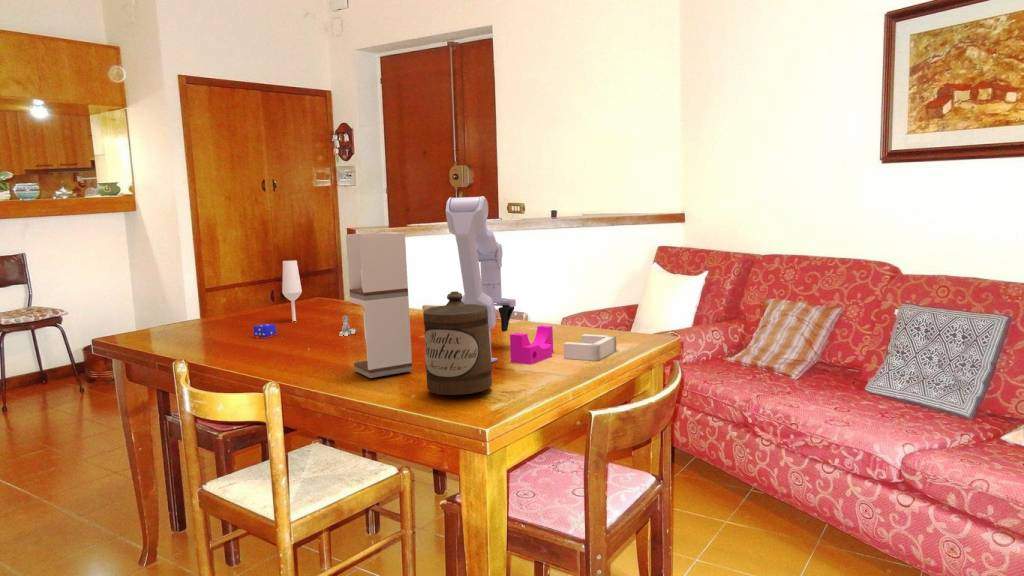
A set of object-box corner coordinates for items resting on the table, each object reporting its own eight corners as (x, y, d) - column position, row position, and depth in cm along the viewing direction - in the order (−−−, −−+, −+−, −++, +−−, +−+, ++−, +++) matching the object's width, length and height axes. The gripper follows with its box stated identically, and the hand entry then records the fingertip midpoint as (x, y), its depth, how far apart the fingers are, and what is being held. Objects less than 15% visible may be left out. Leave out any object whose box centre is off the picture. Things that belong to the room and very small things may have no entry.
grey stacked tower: (395, 363, 188) (388, 232, 183) (412, 370, 179) (404, 232, 174) (354, 370, 181) (345, 234, 177) (369, 378, 173) (360, 235, 168)
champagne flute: (281, 329, 250) (276, 262, 247) (290, 326, 257) (285, 260, 254) (299, 329, 249) (294, 261, 246) (307, 325, 255) (302, 260, 253)
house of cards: (363, 341, 223) (361, 317, 222) (335, 342, 223) (334, 318, 222) (369, 336, 232) (367, 313, 231) (343, 337, 232) (341, 314, 231)
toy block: (530, 365, 181) (529, 336, 180) (510, 362, 185) (509, 334, 184) (561, 353, 193) (560, 326, 192) (542, 351, 197) (541, 325, 196)
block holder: (597, 361, 182) (597, 345, 181) (563, 358, 186) (563, 343, 186) (616, 350, 194) (616, 336, 193) (584, 348, 198) (584, 334, 198)
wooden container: (415, 393, 157) (410, 295, 154) (444, 377, 170) (440, 287, 168) (476, 397, 151) (471, 296, 149) (501, 380, 165) (498, 287, 163)
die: (267, 342, 227) (265, 326, 226) (254, 341, 228) (252, 326, 228) (276, 339, 231) (275, 324, 231) (264, 338, 233) (263, 323, 232)
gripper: (520, 282, 202) (521, 329, 204) (476, 281, 209) (478, 326, 211) (508, 285, 196) (510, 333, 198) (464, 284, 203) (466, 330, 205)
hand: (493, 330), depth 204 cm, fingers open, 7 cm apart
